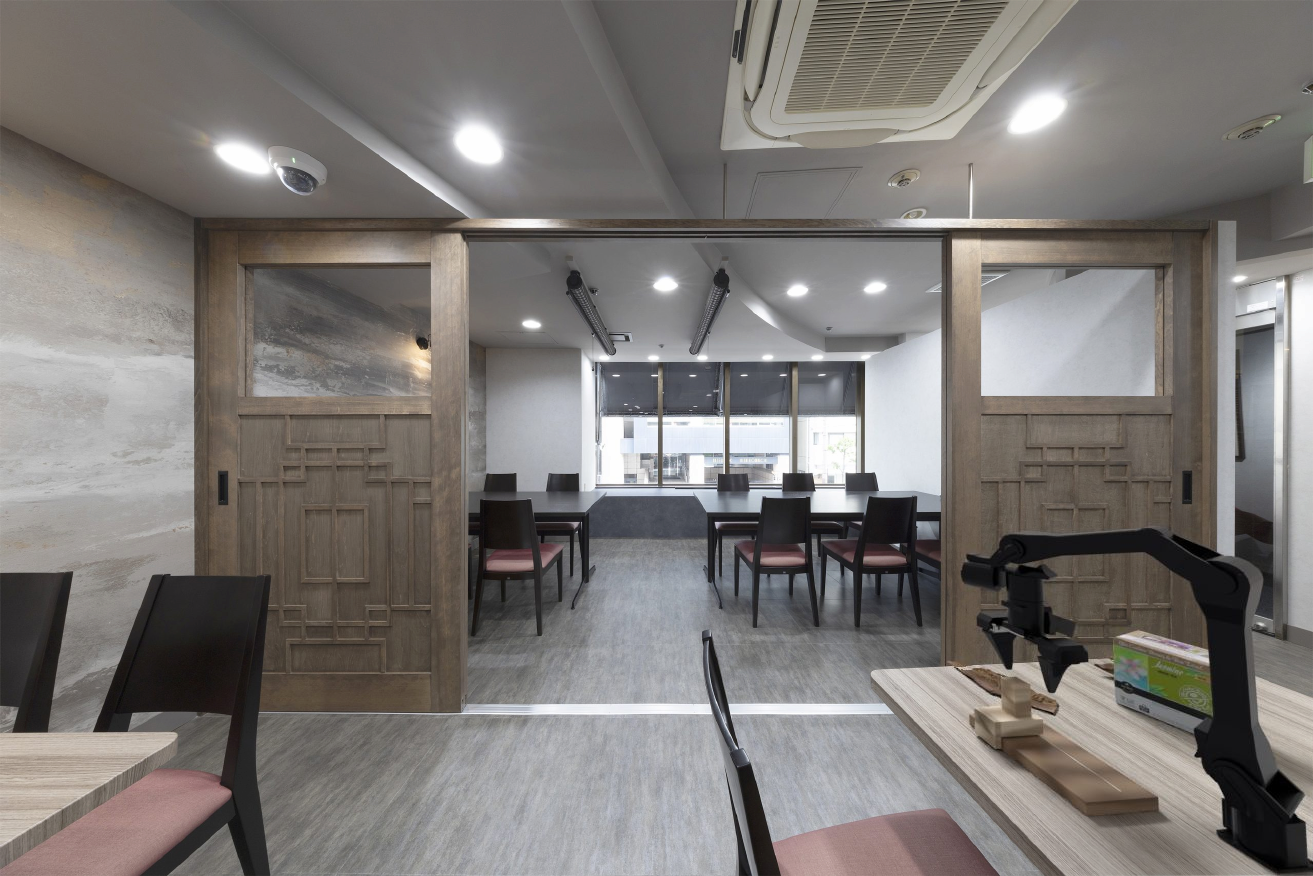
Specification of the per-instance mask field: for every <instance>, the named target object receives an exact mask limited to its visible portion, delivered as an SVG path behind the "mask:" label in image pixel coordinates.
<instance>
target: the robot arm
mask: <svg viewBox="0 0 1313 876" xmlns="http://www.w3.org/2000/svg"><path fill="white" fill-rule="evenodd" d="M1132 553H1134V554H1135V553H1139V554H1140V553H1145V554H1147V555H1148V556H1150V557H1152V558H1154V559H1155V560H1157V562H1159V563H1160V564H1162V565H1163V566H1164V567H1165V568H1167V569H1168V570H1170V571H1171V572H1172V573H1174V574H1175V575H1177V576H1179V577H1181V578H1183V579H1185V580H1186V581H1188V582H1189V585H1190V587H1191V592H1192V593H1193V594H1192V595H1193V598H1194V599H1195V602H1196V605H1197V606H1198V608H1199V609H1200V612H1201V614H1202V615H1203V616H1204V619H1205V623H1206V634H1207V635H1206V637H1207V650H1208V653H1209V667H1210V681H1211V695H1212V710H1213V718H1212V719H1210V718H1208V717H1207V718H1205V719H1204V720H1203V721H1202V722H1201V723H1200V724H1198V725H1197V726H1196V727H1195V728H1194V734H1193V735H1194V739H1195V741H1196V752H1195V753H1194V755H1193V756H1194V758H1197V759H1201V761H1200V762H1201V766H1202V769H1203V771H1204V772H1205V774H1206V775H1208V776H1209V777H1210V778H1211V779H1212V780H1213V781H1214V782H1215V783H1216V784H1217V785H1218V787H1219V790H1220V791H1221V793H1222V796H1223V797H1221V798H1220V799H1221V801H1220V802H1221V813H1222V814H1221V818H1222V822H1221V823H1222V826H1223V828H1220V829H1216V830H1215V831H1216V835H1217V836H1219V837H1220V838H1221V839H1223V840H1225V841H1226V842H1228V843H1230V844H1231V845H1232V846H1234V847H1236V848H1237V849H1238V850H1240V851H1242V852H1243V853H1246V854H1247V855H1248V856H1250V857H1252V858H1253V859H1254V860H1255V861H1257V860H1258V861H1257V862H1259V863H1260V864H1262V865H1263V866H1265V867H1267V868H1268V869H1269V870H1271V871H1273V872H1275V873H1278V874H1284V873H1287V874H1288V873H1296V872H1297V873H1298V872H1306V871H1307V872H1308V871H1313V860H1312V859H1310V858H1309V857H1308V855H1309V853H1308V837H1307V822H1306V821H1305V820H1303V819H1301V818H1300V817H1299V816H1298V815H1297V814H1296V813H1295V812H1296V811H1297V809H1298V807H1299V806H1300V805H1301V803H1302V801H1303V800H1304V798H1305V797H1306V796H1305V795H1306V794H1305V792H1304V791H1303V790H1302V789H1300V787H1298V786H1297V785H1296V783H1294V782H1293V781H1292V780H1291V779H1290V778H1289V777H1288V776H1286V775H1285V774H1284V772H1282V771H1281V770H1280V769H1279V767H1278V765H1277V761H1276V758H1275V755H1274V753H1273V749H1272V746H1271V743H1270V741H1269V740H1268V737H1267V736H1266V734H1265V732H1264V730H1263V728H1262V726H1261V725H1260V722H1259V709H1258V708H1259V707H1258V697H1257V683H1256V682H1257V681H1256V669H1255V668H1256V667H1255V655H1254V641H1253V628H1252V624H1253V620H1254V617H1255V614H1256V611H1257V608H1258V606H1259V603H1260V599H1261V594H1262V589H1263V584H1264V576H1263V573H1262V572H1261V570H1260V569H1259V568H1258V567H1256V566H1255V565H1254V564H1253V563H1251V562H1250V561H1248V560H1246V559H1244V558H1241V557H1239V556H1237V557H1236V556H1233V555H1224V554H1221V552H1218V551H1216V550H1214V549H1213V548H1211V547H1208V546H1205V545H1203V544H1202V543H1201V544H1200V543H1198V542H1195V541H1193V540H1191V539H1188V538H1185V537H1183V536H1182V535H1181V536H1180V534H1177V533H1175V532H1173V531H1171V530H1169V529H1168V528H1165V527H1164V526H1160V525H1148V526H1145V527H1140V528H1139V527H1138V528H1126V529H1125V528H1124V529H1113V530H1101V531H1100V530H1099V531H1097V530H1096V531H1085V532H1084V531H1083V532H1071V533H1056V532H1049V531H1039V530H1023V531H1017V532H1010V533H1007V534H1004V535H1003V536H1001V538H1000V540H999V543H998V547H997V549H996V550H995V551H994V553H993V554H992V555H991V556H987V555H982V554H980V553H976V552H969V553H966V554H965V557H966V558H965V560H964V562H963V563H962V566H961V569H960V578H961V582H963V584H964V585H965V586H969V587H974V588H979V589H983V590H988V591H991V592H996V593H998V592H1000V591H1002V589H1005V590H1006V593H1005V595H1006V599H1001V600H1000V602H1001V604H1000V605H1001V606H1003V607H1005V608H1007V609H1006V611H1007V612H1003V611H1000V610H998V611H997V610H996V611H980V612H979V613H978V614H977V615H976V626H977V627H979V628H981V632H982V633H984V635H985V636H986V638H987V639H988V641H989V642H990V644H991V646H992V647H993V649H994V650H995V652H996V654H997V656H998V658H999V659H1000V661H1001V664H1002V665H1003V666H1004V668H1005V670H1007V671H1011V670H1013V666H1014V641H1015V639H1016V638H1017V637H1019V638H1021V639H1023V640H1026V641H1028V642H1030V643H1032V644H1035V645H1037V652H1039V654H1040V655H1037V661H1038V664H1039V668H1040V671H1041V675H1042V679H1043V681H1044V685H1045V687H1046V688H1045V689H1046V690H1047V692H1048V693H1049V694H1055V693H1057V689H1058V688H1059V686H1060V683H1061V680H1062V679H1063V676H1064V675H1065V672H1066V671H1067V669H1068V668H1069V667H1071V666H1072V665H1074V666H1076V665H1081V663H1082V664H1084V663H1086V664H1087V663H1089V649H1087V648H1086V646H1084V645H1083V644H1081V643H1078V642H1076V641H1074V640H1072V639H1073V637H1074V634H1075V630H1076V628H1077V627H1076V626H1077V621H1074V620H1071V619H1069V618H1066V617H1063V616H1060V615H1058V614H1055V613H1053V608H1052V606H1051V605H1048V604H1045V586H1044V585H1045V584H1044V580H1045V581H1049V580H1051V579H1052V580H1053V579H1057V578H1058V576H1059V575H1058V573H1056V572H1055V571H1054V570H1052V569H1051V568H1050V567H1049V566H1048V565H1047V564H1046V563H1044V564H1038V566H1031V565H1026V564H1028V563H1034V562H1038V561H1043V560H1048V559H1052V558H1056V557H1057V558H1058V557H1065V556H1089V555H1092V556H1093V555H1110V554H1132ZM1012 564H1015V565H1017V567H1013V566H1008V565H1012ZM1057 633H1059V634H1062V635H1064V636H1066V637H1046V635H1048V636H1056V635H1057ZM1068 638H1070V639H1068Z"/></svg>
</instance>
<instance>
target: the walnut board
mask: <svg viewBox="0 0 1313 876" xmlns="http://www.w3.org/2000/svg"><path fill="white" fill-rule="evenodd" d="M968 719H969V720H968V721H969V725H970V726H972V727H973V728H974V729H975V717H974V713H969V714H968ZM1001 747H1002V749H1001V750H1002V751H1003V752H1004V753H1006V754H1007V755H1009V756H1010V757H1011V759H1014V760H1015V761H1016V762H1017V763H1019V764H1020V765H1021V766H1023V768H1024V769H1026V770H1028V771H1029V772H1030V773H1031V774H1032V775H1034V777H1036V778H1037V779H1039V780H1040V781H1041V782H1043V783H1045V784H1046V786H1048V787H1049V788H1050V789H1051V790H1053V791H1054V792H1056V793H1057V794H1058V795H1059V796H1061V797H1062V798H1063V799H1065V800H1066V801H1067V802H1068V803H1069V804H1071V805H1072V806H1073V807H1075V809H1077V810H1078V811H1080V812H1081V813H1082V814H1084V816H1086V817H1092V816H1106V815H1116V814H1128V813H1129V814H1130V813H1141V812H1152V811H1160V803H1159V800H1160V799H1159V796H1158V795H1156V794H1154V793H1153V792H1152V791H1150V790H1149V789H1146V788H1145V787H1144V786H1142V785H1141V784H1140V783H1137V782H1136V781H1135V780H1132V779H1131V778H1129V776H1127V775H1125V774H1124V773H1122V772H1121V771H1119V770H1117V769H1116V768H1114V767H1112V766H1111V765H1109V764H1108V763H1107V762H1105V761H1104V760H1102V759H1100V758H1099V757H1097V756H1096V755H1094V754H1093V753H1091V752H1089V751H1088V750H1086V749H1085V748H1083V747H1082V746H1081V745H1078V744H1077V743H1075V741H1072V740H1071V739H1069V738H1068V737H1066V736H1065V735H1063V734H1062V733H1061V732H1058V731H1057V730H1056V729H1054V728H1052V727H1051V726H1049V725H1048V724H1047V723H1044V722H1043V734H1041V735H1026V736H1010V737H1001Z"/></svg>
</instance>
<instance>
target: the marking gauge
mask: <svg viewBox="0 0 1313 876" xmlns="http://www.w3.org/2000/svg"><path fill="white" fill-rule="evenodd" d="M1031 687H1032V686H1031V684H1030V683H1028V682H1027V681H1025V680H1023V679H1021V678H1020V677H1018V676H1008V677H1001V695H1000V696H1001V705H989V706H977V707H976V706H975V707H973V708H974V709H973V714H974V717H975V728H974V734H975V735H977V736H978V737H980V738H981V739H982V740H984V741H985V742H986V743H987V744H989V745H990V746H991V747H992V748H993V749H994V750H998V749H999V750H1002V747H1001V737H1010V736H1026V735H1041V734H1043V723H1044V719H1043V718H1042V717H1040V716H1038V715H1037V714H1035V713H1034V712H1033V711H1032V706H1031V689H1032V688H1031Z"/></svg>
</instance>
